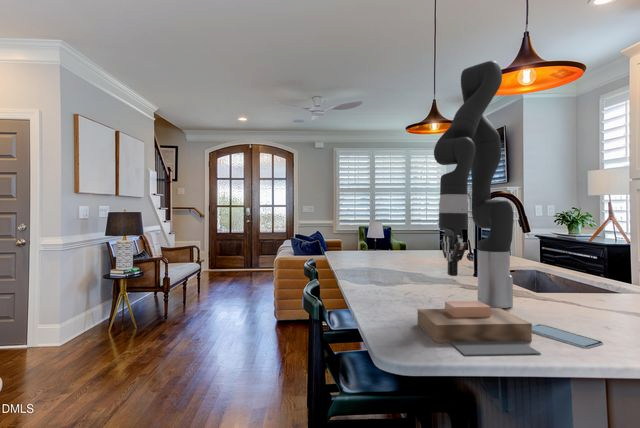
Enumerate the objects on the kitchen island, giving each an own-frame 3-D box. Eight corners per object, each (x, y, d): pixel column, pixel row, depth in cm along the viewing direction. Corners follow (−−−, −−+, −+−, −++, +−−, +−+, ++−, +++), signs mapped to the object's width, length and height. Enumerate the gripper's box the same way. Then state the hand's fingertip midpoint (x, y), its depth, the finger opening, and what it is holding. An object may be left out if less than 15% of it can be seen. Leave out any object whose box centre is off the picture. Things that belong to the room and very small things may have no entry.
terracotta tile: (479, 310, 98) (479, 301, 98) (490, 316, 92) (490, 306, 92) (444, 310, 98) (444, 301, 98) (454, 317, 92) (454, 307, 92)
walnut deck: (499, 323, 100) (499, 308, 100) (531, 341, 86) (531, 323, 86) (417, 324, 99) (417, 309, 99) (436, 342, 85) (436, 324, 85)
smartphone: (586, 347, 81) (521, 327, 95) (586, 351, 81) (521, 331, 95) (605, 342, 85) (540, 323, 98) (605, 346, 85) (540, 327, 98)
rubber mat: (520, 342, 86) (520, 340, 86) (540, 354, 78) (540, 353, 78) (450, 343, 85) (450, 341, 85) (464, 355, 78) (464, 354, 78)
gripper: (477, 211, 97) (476, 279, 97) (457, 212, 110) (456, 272, 110) (448, 211, 97) (447, 279, 97) (431, 211, 110) (430, 271, 110)
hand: (452, 275), depth 103 cm, fingers closed
